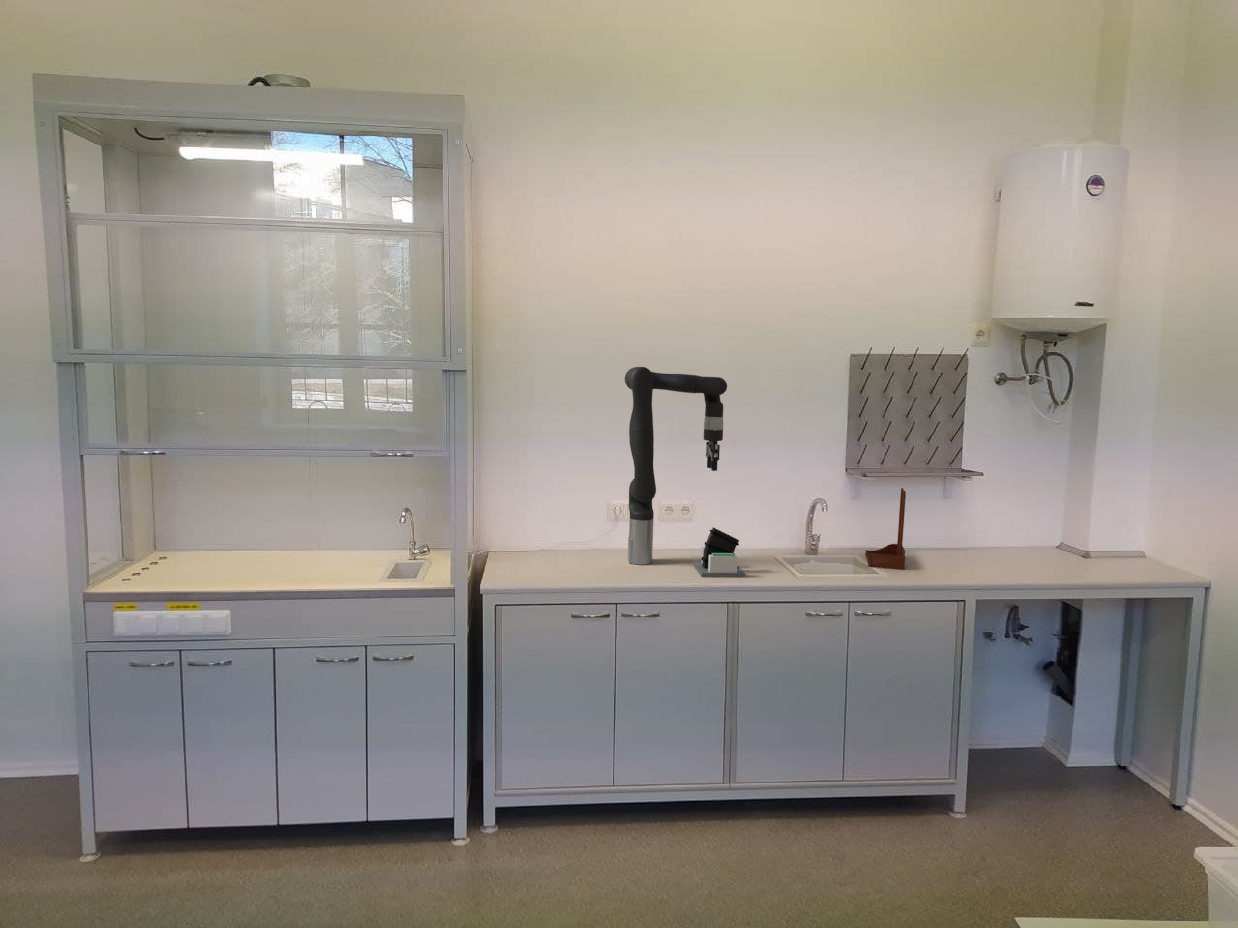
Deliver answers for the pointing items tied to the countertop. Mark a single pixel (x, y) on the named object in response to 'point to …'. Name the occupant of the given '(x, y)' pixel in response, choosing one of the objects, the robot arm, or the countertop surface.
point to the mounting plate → (706, 574)
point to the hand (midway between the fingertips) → (711, 469)
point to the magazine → (718, 545)
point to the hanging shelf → (891, 546)
